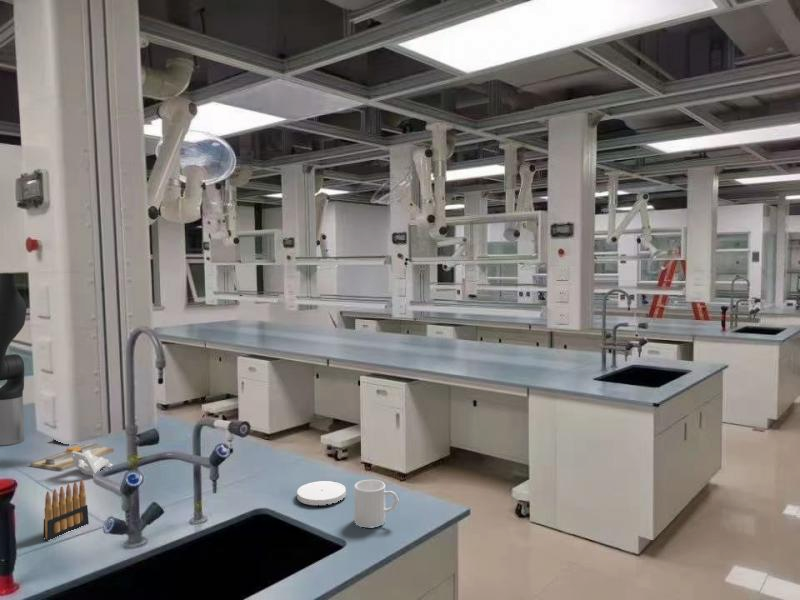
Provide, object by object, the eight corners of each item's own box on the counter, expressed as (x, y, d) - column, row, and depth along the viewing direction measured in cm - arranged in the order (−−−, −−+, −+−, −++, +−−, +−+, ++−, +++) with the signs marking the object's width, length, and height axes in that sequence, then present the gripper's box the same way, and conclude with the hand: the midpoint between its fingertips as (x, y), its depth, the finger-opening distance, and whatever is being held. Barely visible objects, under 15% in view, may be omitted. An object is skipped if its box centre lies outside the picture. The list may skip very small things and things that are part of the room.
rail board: (30, 466, 189) (30, 458, 189) (84, 447, 209) (84, 440, 209) (62, 470, 185) (61, 463, 185) (113, 451, 205) (113, 444, 205)
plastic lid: (288, 505, 159) (287, 496, 159) (310, 486, 172) (310, 478, 172) (333, 511, 155) (333, 502, 155) (353, 492, 168) (353, 484, 168)
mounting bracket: (79, 475, 186) (64, 450, 182) (96, 463, 191) (82, 437, 186) (100, 483, 180) (85, 456, 175) (117, 469, 185) (103, 443, 180)
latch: (66, 451, 196) (66, 448, 196) (74, 449, 199) (73, 446, 199) (73, 452, 195) (72, 449, 195) (80, 450, 198) (80, 447, 198)
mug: (393, 533, 141) (393, 494, 141) (349, 526, 145) (349, 488, 145) (403, 519, 149) (403, 483, 149) (361, 513, 153) (361, 477, 152)
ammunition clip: (48, 541, 137) (46, 493, 137) (43, 540, 138) (41, 491, 137) (88, 523, 147) (87, 478, 146) (84, 522, 148) (82, 477, 147)
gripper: (77, 354, 203) (79, 401, 204) (40, 360, 190) (42, 411, 191) (93, 355, 201) (95, 402, 202) (56, 361, 187) (59, 412, 188)
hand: (69, 406), depth 196 cm, fingers closed on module, 5 cm apart
